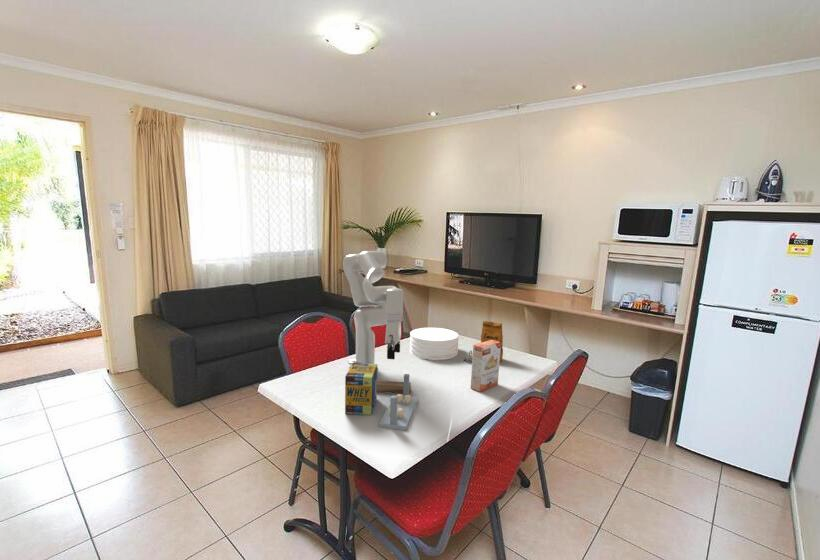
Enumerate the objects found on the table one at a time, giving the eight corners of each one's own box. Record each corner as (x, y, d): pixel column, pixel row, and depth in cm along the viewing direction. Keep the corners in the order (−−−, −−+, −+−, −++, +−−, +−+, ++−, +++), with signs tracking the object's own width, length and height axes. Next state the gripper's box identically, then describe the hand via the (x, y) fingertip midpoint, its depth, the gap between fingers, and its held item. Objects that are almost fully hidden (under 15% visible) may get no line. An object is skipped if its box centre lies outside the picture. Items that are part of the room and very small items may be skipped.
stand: (379, 426, 140) (379, 396, 138) (395, 398, 163) (395, 372, 162) (405, 430, 138) (406, 400, 136) (418, 401, 161) (419, 375, 160)
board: (409, 395, 168) (410, 386, 167) (373, 392, 169) (373, 384, 169) (410, 390, 172) (410, 382, 172) (375, 388, 173) (375, 380, 173)
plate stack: (399, 351, 226) (400, 332, 224) (432, 342, 245) (433, 325, 243) (434, 364, 205) (435, 344, 204) (467, 354, 224) (468, 335, 223)
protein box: (344, 414, 148) (344, 376, 146) (352, 397, 164) (352, 362, 161) (371, 416, 148) (372, 377, 146) (377, 398, 163) (377, 363, 161)
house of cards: (483, 362, 211) (484, 349, 210) (477, 367, 204) (478, 353, 203) (468, 359, 216) (469, 346, 215) (461, 363, 209) (462, 349, 208)
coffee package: (499, 365, 207) (501, 325, 204) (477, 360, 213) (479, 322, 210) (504, 360, 215) (507, 321, 212) (483, 355, 221) (485, 318, 218)
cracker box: (480, 393, 171) (483, 347, 168) (469, 388, 176) (472, 344, 173) (499, 385, 181) (501, 341, 178) (488, 381, 185) (490, 338, 182)
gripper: (390, 312, 175) (390, 349, 177) (380, 320, 158) (379, 361, 160) (406, 313, 174) (406, 350, 176) (397, 321, 157) (397, 362, 159)
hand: (393, 355), depth 168 cm, fingers open, 9 cm apart
